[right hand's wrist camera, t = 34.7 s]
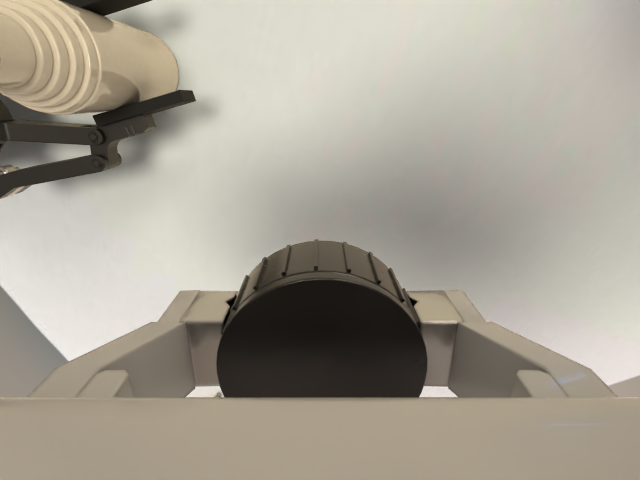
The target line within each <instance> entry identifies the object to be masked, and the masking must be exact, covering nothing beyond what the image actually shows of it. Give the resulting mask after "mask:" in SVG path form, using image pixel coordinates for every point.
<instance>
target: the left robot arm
mask: <svg viewBox="0 0 640 480" xmlns="http://www.w3.org/2000/svg"><path fill="white" fill-rule="evenodd" d="M61 1H64V2H67V3H69V4H72V5H75V6H78V7H80V8H83V9H86V10H89V11H91V12H94V13H97V14H99V15H102V16H105V15H108V14H111V13H114V12H118V11H121V10H124V9H127V8H130V7H133V6H136V5H139V4H142V3H145V2H148V1H151V0H61ZM194 101H196V100H195V97H194V94H193V91H189V90H178V91H174V92H171V93H168V94H164V95H161V96H158V97H154V98H151V99H147V100H144V101H141V102H137V103H134V104H131V105H127V106H124V107H120V108H117V109H114V110H111V111H107V112H104V113H100V114H97V115H94V116H93V118H94V120H95V122H96V124H97V125H91V124H74V123H57V122H40V121H30V120H17V119H13V118H12V116H11V114H10V112H9V110H8V109H7V108H6V107H5V105H4V104H3V103H2V102H1V100H0V151H1V149H2V147H3V145H4V143H5V141H7V140H10V141H28V142H45V143H62V144H80V145H90V147H91V154H92V155H88V156H83V157H78V158H73V159H68V160H63V161H57V162H52V163H47V164H42V165H37V166H33V167H28V168H24V169H19V168H18V167H13V166H11V165H5V166H0V199H1V198H4V197H8V196H11V195H14V194H17V193H20V192H22V191H24V190H25V189H27V188H28V187H30V186H31V185H33V184H39V183H44V182H49V181H54V180H59V179H65V178H70V177H75V176H80V175H85V174H91V173H96V172H101V171H104V170H107V169H110V168H113V167H115V166H118V165H120V163H121V156H120V155H119V154H118V152H117V144H118V142H119V141H120V140H122V139H124V138H128V137H131V136H135V135H138V134H142V133H145V132H149V131H151V130H153V129H154V128H155V127H156V125H155V122H154V120H153V118H152V115H151V114H153V113H157V112H160V111H163V110H167V109H170V108H174V107H177V106H181V105H184V104H187V103H191V102H194Z"/></svg>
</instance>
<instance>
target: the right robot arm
mask: <svg viewBox="0 0 640 480" xmlns="http://www.w3.org/2000/svg"><path fill="white" fill-rule="evenodd" d="M238 293H239V292H238V291H200V290H188V291H180V292H179V293H178V295H177V296H176V297H175V299H174V300H173V301H172V303H171V304H170V305H169V307H168V308H167V310H166V311H165V312H164V314H163V315H162V316H161V318H160V319H159V320H158V322H151V323H149V324H147V325H144V326H142V327H140V328H138V329H136V330H134V331H132V332H130V333H128V334H126V335H124V336H122V337H119V338H117V339H115V340H113V341H111V342H109V343H107V344H105V345H103V346H101V347H99V348H96V349H94V350H92V351H90V352H88V353H86V354H84V355H82V356H80V357H78V358H76V359H74V360H71V361H69V362H67V363H65V364H63V365H61V366H59V367H57V368H55V369H54V370H53V371H52V372H51V373H50V374H49V375H48V376H47V377H46V378H45V379H44V380H43V381H42V382H41V383H40V384H39V385H38V386H37V387H36V388H35V389H34V390H33V391H32V392H31V393H30V394H29V395H28V396H27V397H26V398H0V480H640V397H618V396H617V395H616V394H615V393H614V392H613V391H612V390H611V389H610V388H609V387H608V386H607V385H606V384H605V383H604V382H603V381H602V380H601V379H600V378H599V377H598V376H597V375H596V374H595V373H594V372H593V371H592V370H591V369H589V368H587V367H585V366H583V365H581V364H579V363H577V362H575V361H573V360H571V359H569V358H566V357H564V356H562V355H560V354H558V353H556V352H554V351H552V350H550V349H548V348H545V347H543V346H541V345H539V344H537V343H535V342H533V341H531V340H529V339H527V338H525V337H522V336H520V335H518V334H516V333H514V332H512V331H510V330H508V329H506V328H504V327H501V326H499V325H497V324H495V323H493V322H486V321H485V320H484V318H483V317H482V316H481V314H480V313H479V312H478V310H477V309H476V308H475V306H474V305H473V304H472V302H471V301H470V300H469V298H468V297H467V296H466V294H465V293H464V292H463V291H461V290H451V291H443V290H442V291H406V293H407V295H408V297H409V300H410V302H411V304H412V306H413V309H414V311H415V313H416V315H417V318H418V320H419V322H420V325H418V327H419V329H420V332H421V334H422V336H423V340H424V343H425V346H426V351H427V359H428V361H427V374H426V380H425V384H424V386H447V387H448V388H449V389H450V390H451V391H452V392H453V393H454V394H456V395H457V396H458V397H210V398H209V397H208V398H185V397H186V396H187V395H188V394H189V393H190V392H192V391H193V390H194V389H195V387H196V386H220V385H219V380H218V376H217V366H216V359H217V350H218V347H219V343H220V339H221V337H222V334H220V333H221V330H222V328H223V329H224V327H225V325H226V322H227V320H228V318H229V315H230V309H231V306H232V304H234V303H235V300H236V298H237V295H238Z"/></svg>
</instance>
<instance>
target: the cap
mask: <svg viewBox="0 0 640 480" xmlns="http://www.w3.org/2000/svg"><path fill="white" fill-rule="evenodd" d="M418 325H420V322H419V320H418V318H417V315H416V313H415V311H414V309H413V306H412V304H411V302H410V300H409V297H408V295H407V293H406V291H405V288H404V289H402V288H401V286H400V284H399V282H398V280H397V279H396V277H395V275H394V272H393V270H392V269H391V268H389V269H388V267H387V266H386V265H385V264H383V263H382V262H381V261H380V260H379V259H377V258H376V257H374V256H373V254H372V253H371V252H369V253H368V252H366V251H364V250H362V249H359V248H357V247H355V246H351V245H348V244H347V243H346V242H343V243H339V242H333V241H318V240H315V241H311V242H304V243H299V244H295V245H292V246H290V245H287V247H286V248H284V249H281V250H279V251H277V252H275V253H273V254H272V255H270V256H269V257H267V258H266V257H264V258H263V259H262V262H261V263H260V264H259V265H258V266H256V267H255V269H254V270H253V271H252V272H251V273H250V274H249V276H248V275H246V276H245V278H244V281H243V283H242V286H241V288H240V290H239V293H238V295H237V298H236V300H235V303H234V304H232V306H231V309H230V315H229V318H228V320H227V322H226V325H225V327H224V329H223V328H222V330H221V333H220V334H222V337H221V339H220V343H219V347H218V350H217V359H216V366H217V376H218V380H219V385H220V387H221V390H222V392H223V395H224V397H419V396H420V394H421V392H422V389H423V386H424V384H425V380H426V374H427V361H428V359H427V351H426V346H425V343H424V340H423V336H422V334H421V332H420V329H419V327H418Z"/></svg>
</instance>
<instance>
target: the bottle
mask: <svg viewBox="0 0 640 480" xmlns="http://www.w3.org/2000/svg"><path fill="white" fill-rule="evenodd" d="M178 79H179V72H178V66H177V62H176V60H175V57H174V55H173V53H172V52H171V50H170V49H169V47H168V46H167V45H166V44H165V43H164V42H163V41H162V40H161V39H160V38H158V37H157V36H155V35H153V34H151V33H149V32H146V31H143V30H141V29H138V28H135V27H132V26H130V25H127V24H124V23H121V22H119V21H116V20H113V19H110V18H108V17H105V16H102V15H99V14H97V13H94V12H91V11H89V10H86V9H83V8H80V7H78V6H75V5H72V4H69V3H67V2H64V1H61V0H0V93H1V94H3V95H5V96H7V97H9V98H10V99H12V100H14V101H16V102H18V103H19V104H21V105H23V106H25V107H27V108H29V109H32V110H35V111H39V112H44V113H48V114H54V115H68V114H82V113H96V112H107V111H111V110H114V109H117V108H120V107H124V106H127V105H131V104H134V103H137V102H141V101H144V100H147V99H151V98H154V97H158V96H161V95H164V94H168V93H171V92H174V91H176V89H177V85H178Z"/></svg>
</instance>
